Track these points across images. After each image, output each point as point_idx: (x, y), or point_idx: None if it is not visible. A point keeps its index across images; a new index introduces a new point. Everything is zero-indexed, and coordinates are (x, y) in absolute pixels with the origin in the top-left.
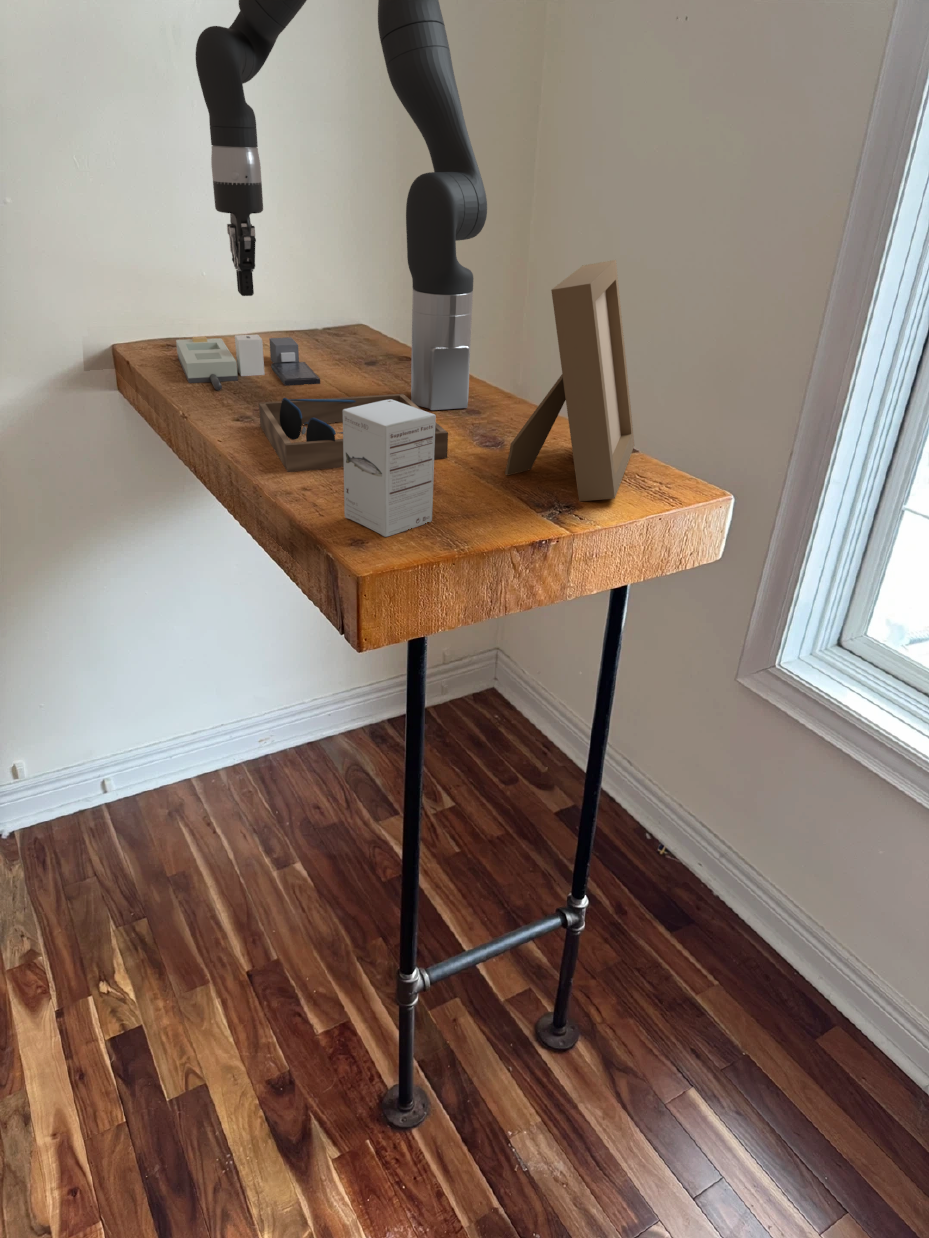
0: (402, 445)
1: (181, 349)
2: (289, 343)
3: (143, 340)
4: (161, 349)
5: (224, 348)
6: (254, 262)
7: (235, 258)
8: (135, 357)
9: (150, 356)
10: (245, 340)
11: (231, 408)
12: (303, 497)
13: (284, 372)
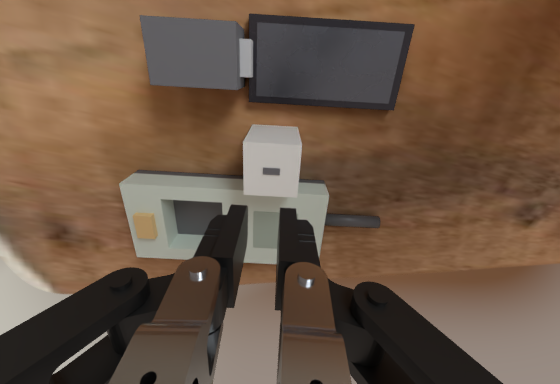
0: None
1: None
2: (219, 44)
3: (24, 264)
4: (88, 249)
5: (217, 195)
6: (426, 322)
7: (215, 364)
8: None
9: (139, 268)
10: (298, 182)
11: (470, 218)
12: None
13: (337, 94)
